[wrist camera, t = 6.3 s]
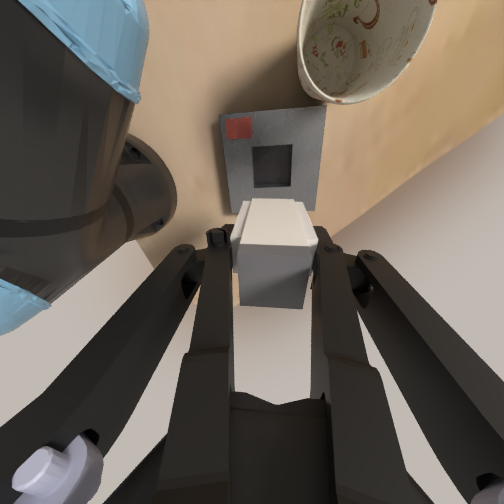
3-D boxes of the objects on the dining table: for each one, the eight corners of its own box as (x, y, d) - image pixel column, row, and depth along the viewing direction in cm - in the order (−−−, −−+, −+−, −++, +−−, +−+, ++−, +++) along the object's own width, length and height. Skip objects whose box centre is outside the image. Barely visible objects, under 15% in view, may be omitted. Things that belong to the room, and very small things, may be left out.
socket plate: (233, 208, 30) (231, 214, 28) (222, 115, 24) (217, 114, 22) (312, 205, 29) (315, 212, 27) (322, 106, 23) (328, 104, 20)
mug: (271, 77, 22) (272, 47, 13) (368, -94, 16) (483, -350, 7) (324, 128, 24) (354, 129, 15) (428, -5, 18) (569, -122, 9)
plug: (252, 234, 19) (240, 305, 11) (252, 198, 17) (236, 254, 9) (289, 236, 19) (302, 309, 11) (293, 199, 17) (312, 256, 9)
